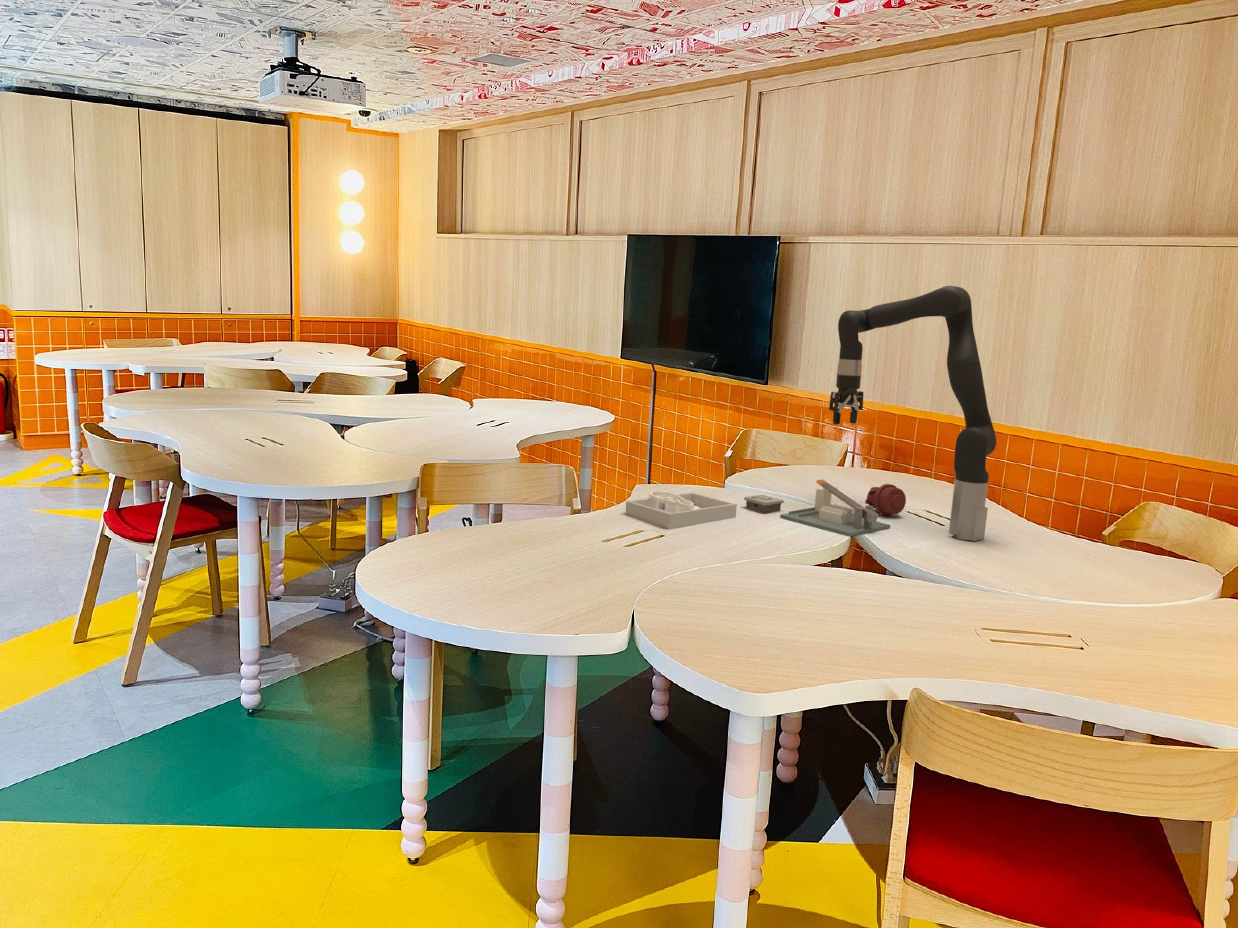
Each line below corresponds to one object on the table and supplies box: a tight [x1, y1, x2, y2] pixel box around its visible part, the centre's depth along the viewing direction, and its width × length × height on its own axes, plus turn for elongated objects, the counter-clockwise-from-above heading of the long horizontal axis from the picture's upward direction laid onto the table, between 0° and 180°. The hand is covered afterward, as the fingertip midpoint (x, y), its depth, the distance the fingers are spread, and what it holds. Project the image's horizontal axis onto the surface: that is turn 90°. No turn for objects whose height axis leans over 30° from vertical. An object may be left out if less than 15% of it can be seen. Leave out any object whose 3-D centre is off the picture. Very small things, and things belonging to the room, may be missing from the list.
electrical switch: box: [743, 494, 784, 514], centre depth 297 cm, size 9×5×9 cm
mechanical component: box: [864, 483, 907, 516], centre depth 300 cm, size 12×10×10 cm
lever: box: [815, 479, 880, 523], centre depth 281 cm, size 22×3×2 cm, turn 41°
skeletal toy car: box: [648, 490, 699, 513], centre depth 282 cm, size 20×11×7 cm, turn 21°
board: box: [779, 503, 891, 537], centre depth 284 cm, size 26×20×7 cm
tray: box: [625, 492, 738, 530], centre depth 282 cm, size 19×28×4 cm
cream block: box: [814, 485, 838, 511], centre depth 295 cm, size 5×4×8 cm
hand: (844, 423), depth 303 cm, fingers open, 8 cm apart
